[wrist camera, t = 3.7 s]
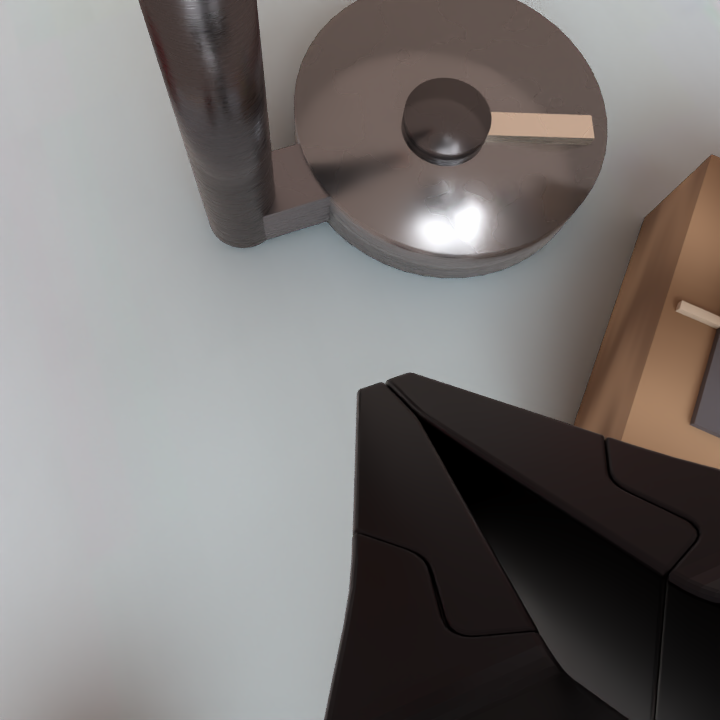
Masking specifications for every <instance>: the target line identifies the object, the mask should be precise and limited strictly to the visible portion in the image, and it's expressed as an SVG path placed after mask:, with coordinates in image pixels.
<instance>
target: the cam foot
mask: <svg viewBox="0 0 720 720" xmlns="http://www.w3.org/2000/svg"><path fill="white" fill-rule="evenodd" d="M139 3H140V7H141V10H142V13H143V16H144V19H145V22H146V25H147V28H148V32H149V35H150V38H151V41H152V44H153V47H154V50H155V54H156V57H157V60H158V63H159V66H160V69H161V72H162V76H163V79H164V82H165V85H166V88H167V91H168V94H169V98H170V101H171V104H172V107H173V110H174V113H175V116H176V120H177V123H178V126H179V129H180V132H181V135H182V138H183V141H184V145H185V148H186V151H187V154H188V157H189V160H190V163H191V167H192V170H193V173H194V176H195V179H196V182H197V185H198V189H199V192H200V195H201V198H202V201H203V204H204V207H205V211H206V214H207V217H208V220H209V223H210V226H211V229H212V231H213V232H214V234H215V235H216V236H217V237H218V238H219V239H220V240H221V241H222V242H224V243H226V244H228V245H230V246H233V247H239V248H247V247H253V246H256V245H259V244H261V243H262V242H264V241H265V240H267V239H271V238H274V237H277V236H280V235H284V234H287V233H290V232H293V231H296V230H300V229H303V228H306V227H309V226H313V225H316V224H319V223H322V222H325V221H327V222H328V223H329V224H330V225H331V226H332V227H333V229H334V230H335V231H336V232H337V233H339V234H340V235H341V236H342V237H343V238H344V239H345V240H347V241H348V242H349V243H350V244H351V245H353V246H354V247H356V248H357V249H359V250H360V251H362V252H363V253H365V254H366V255H368V256H370V257H372V258H374V259H376V260H378V261H380V262H382V263H384V264H386V265H389V266H391V267H394V268H397V269H399V270H402V271H405V272H410V273H414V274H418V275H422V276H430V277H438V278H466V277H474V276H481V275H486V274H489V273H493V272H497V271H501V270H503V269H506V268H508V267H510V266H513V265H515V264H518V263H520V262H521V261H523V260H525V259H526V258H528V257H530V256H531V255H533V254H535V253H536V252H537V251H538V250H540V249H541V248H542V247H543V246H545V245H546V244H547V243H548V242H549V241H550V240H551V239H552V238H553V237H554V236H555V235H556V233H557V232H558V231H559V230H560V229H561V228H562V227H563V225H564V224H565V223H566V222H567V221H568V219H569V218H570V217H571V216H572V214H573V213H574V212H575V211H576V210H577V208H578V207H579V206H580V205H581V203H582V202H583V201H584V199H585V198H586V196H587V195H588V193H589V192H590V190H591V189H592V187H593V185H594V183H595V181H596V179H597V177H598V175H599V173H600V170H601V167H602V163H603V160H604V156H605V151H606V143H607V117H606V111H605V105H604V101H603V97H602V94H601V91H600V88H599V85H598V83H597V81H596V79H595V76H594V74H593V72H592V70H591V68H590V67H589V65H588V63H587V62H586V60H585V59H584V57H583V56H582V54H581V53H580V51H579V50H578V49H577V48H576V47H575V45H574V44H573V43H572V42H571V40H570V39H569V38H568V37H567V36H566V35H565V34H564V33H563V32H562V31H561V30H560V29H559V28H558V27H556V26H555V25H554V24H553V23H552V22H550V21H549V20H548V19H546V18H545V17H544V16H542V15H541V14H540V13H538V12H536V11H535V10H533V9H532V8H530V7H528V6H527V5H525V4H523V3H521V2H519V1H517V0H358V1H356V2H354V3H353V4H351V5H349V6H348V7H346V8H345V9H343V10H342V11H341V12H340V13H338V14H337V15H336V16H335V17H334V18H332V19H331V20H330V21H329V22H328V23H327V24H326V26H325V27H324V28H323V29H322V30H321V31H320V32H319V33H318V35H317V36H316V38H315V39H314V41H313V42H312V44H311V45H310V47H309V48H308V51H307V53H306V55H305V57H304V59H303V61H302V63H301V67H300V70H299V73H298V77H297V80H296V88H295V95H294V114H295V143H296V145H292V146H289V147H285V148H282V149H278V150H275V151H271V143H270V132H269V122H268V112H267V102H266V92H265V81H264V71H263V61H262V51H261V41H260V30H259V20H258V10H257V0H139Z"/></svg>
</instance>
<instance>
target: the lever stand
mask: <svg viewBox="0 0 720 720" xmlns="http://www.w3.org/2000/svg"><path fill="white" fill-rule="evenodd" d="M574 426H577V427H580V428H583V429H586V430H589V431H592V432H595V433H598V434H601V435H603V436H604V437H605V439H606V438H607V437H611V438H614V439H617V440H620V441H623V442H627V443H630V444H633V445H636V446H639V447H642V448H646V449H649V450H652V451H656V452H659V453H662V454H665V455H669V456H672V457H675V458H679V459H683V460H687V461H691V462H694V463H698V464H702V465H706V466H710V467H714V468H717V469H720V158H719V157H717V156H714V155H710V156H709V157H708V158H707V159H706V160H705V161H704V162H703V163H702V164H701V165H700V166H699V167H698V168H697V169H696V170H695V171H694V172H693V173H691V174H690V175H689V176H688V177H687V178H686V179H685V180H684V181H683V182H682V183H681V184H680V185H679V186H678V187H677V188H676V189H675V190H673V191H672V192H671V193H670V194H669V195H668V196H667V197H666V198H665V199H664V200H663V201H662V202H661V203H660V204H659V205H658V206H657V207H656V208H654V209H653V210H652V211H651V212H650V213H649V214H648V215H647V216H646V217H645V218H644V221H643V224H642V227H641V230H640V233H639V235H638V238H637V241H636V244H635V247H634V250H633V253H632V256H631V259H630V262H629V265H628V268H627V271H626V273H625V276H624V279H623V282H622V285H621V288H620V291H619V294H618V297H617V300H616V303H615V306H614V309H613V311H612V314H611V317H610V320H609V323H608V326H607V329H606V332H605V335H604V338H603V341H602V344H601V347H600V349H599V352H598V355H597V358H596V361H595V364H594V367H593V370H592V373H591V376H590V379H589V382H588V385H587V388H586V390H585V393H584V396H583V399H582V402H581V405H580V408H579V411H578V414H577V417H576V420H575V423H574Z"/></svg>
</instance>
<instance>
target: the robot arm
mask: <svg viewBox="0 0 720 720" xmlns="http://www.w3.org/2000/svg"><path fill="white" fill-rule="evenodd" d="M324 720H720V469H717V468H714V467H710V466H706V465H702V464H698V463H694V462H691V461H687V460H683V459H679V458H675V457H672V456H669V455H665V454H662V453H659V452H656V451H652V450H649V449H646V448H642V447H639V446H636V445H633V444H630V443H627V442H623V441H620V440H617V439H614V438H611V437H607V438H606V439H605V437H604V436H603V435H601V434H598V433H595V432H592V431H589V430H586V429H583V428H580V427H577V426H574V425H571V424H568V423H565V422H562V421H559V420H555V419H552V418H549V417H546V416H543V415H540V414H537V413H534V412H531V411H528V410H525V409H522V408H519V407H516V406H513V405H509V404H506V403H503V402H500V401H497V400H494V399H491V398H488V397H485V396H482V395H479V394H476V393H473V392H470V391H467V390H464V389H460V388H457V387H454V386H451V385H448V384H445V383H442V382H439V381H436V380H433V379H430V378H427V377H424V376H421V375H418V374H415V373H406V374H403V375H400V376H397V377H394V378H391V379H389V380H387V381H386V383H385V384H384V383H382V382H381V383H377V384H374V385H371V386H368V387H365V388H362V389H360V390H359V391H358V393H357V412H356V445H355V478H354V511H353V537H352V560H351V573H350V585H349V594H348V600H347V606H346V612H345V619H344V625H343V630H342V635H341V640H340V645H339V650H338V654H337V659H336V664H335V669H334V674H333V679H332V683H331V688H330V693H329V698H328V703H327V708H326V713H325V717H324Z"/></svg>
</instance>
